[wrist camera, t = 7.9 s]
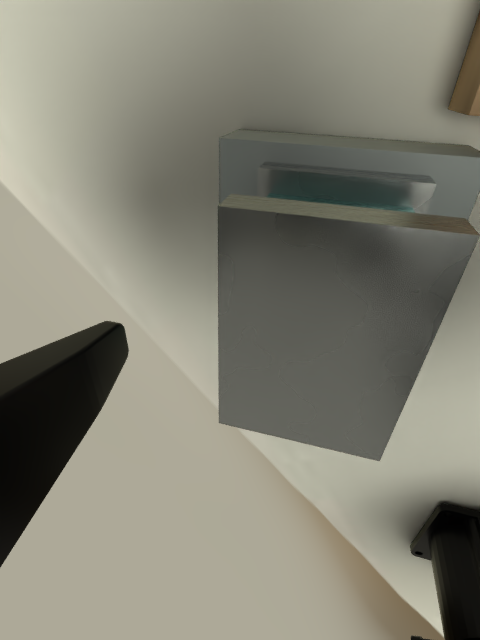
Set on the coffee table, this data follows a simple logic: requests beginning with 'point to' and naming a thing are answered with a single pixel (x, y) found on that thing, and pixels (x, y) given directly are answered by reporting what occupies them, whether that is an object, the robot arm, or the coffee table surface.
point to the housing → (331, 301)
